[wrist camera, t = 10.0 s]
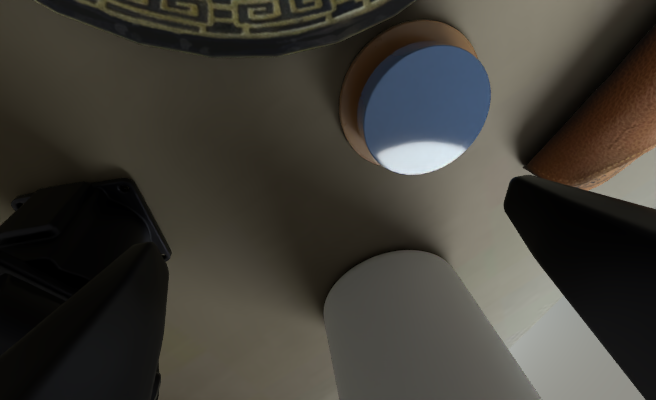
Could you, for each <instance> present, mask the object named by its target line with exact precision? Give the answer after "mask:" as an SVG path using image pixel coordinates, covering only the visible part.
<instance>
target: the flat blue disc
mask: <svg viewBox="0 0 656 400" xmlns="http://www.w3.org/2000/svg"><path fill="white" fill-rule="evenodd" d="M490 100H491V90H490V82H489V79H488V75H487V73H486V71H485V69H484V67H483V65H482V64H481V62H480V61H479V60H478V59H477V58H476V57H475V56H474V55H473V54H471V53H470V52H468V51H467V50H464V49H462V48H460V47H457V46H454V45H451V44H448V43H445V42H441V41H432V40H430V41H420V42H416V43H412V44H409V45H407V46H404V47H402V48H400V49H398V50H397V51H395V52H394V53H392V54H391V55H389V56H388V57H387V58H386V59H385V60H383V61H382V62H381V63H380V64H379V65H378V67H377V68H376V69H375V70H374V71H373V73H372V74H371V76H370V77H369V79H368V80H367V82H366V84H365V86H364V88H363V91H362V93H361V96H360V100H359V103H358V110H357V123H358V129H359V133H360V136H361V138H362V141H363V142H364V144H365V146H366V147H367V149H368V150H369V152H370V153H371V155H372V156H373V158H374V159H375V160H376V161H377V162H378V163H379V164H380V165H381V166H383V167H384V168H386V169H388V170H390V171H392V172H395V173H398V174H403V175H420V174H426V173H430V172H433V171H436V170H438V169H440V168H442V167H444V166H446V165H448V164H449V163H451V162H453V161H454V160H455V159H457V158H458V157H459V156H460V155H461V154H463V153H464V152H465V151H466V150H467V149H468V148H469V146H470V145H471V144H472V143H473V142H474V140H475V139H476V137H477V136H478V134H479V133H480V131H481V129H482V127H483V125H484V123H485V120H486V118H487V115H488V111H489V107H490Z"/></svg>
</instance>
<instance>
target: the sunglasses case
mask: <svg viewBox="0 0 656 400" xmlns="http://www.w3.org/2000/svg"><path fill="white" fill-rule="evenodd" d="M654 147H656V24H655V25H654V26H653V27H652V29H651V30H650V31H649V32H648V33H647V34H646V35H645V36H644V37H643V38H642V39H641V40H640V41H639V42H638V44H637V45H636V46H635V47H634V48H633V49H632V50H631V51H630V52H629V54H628V55H627V56H626V57H625V58H624V60H623V61H622V62H621V63H620V64H619V65H618V67H617V68H616V69H615V70H614V71H613V73H612V74H611V75H610V76H609V77H608V78H607V79H606V80H605V81H604V82H603V83H602V84H601V85H600V86H599V87H598V88H597V89H596V90H595V91H594V92H593V93H592V94H591V96H590V97H589V98H588V99H587V100H586V101H585V102H584V103H583V104H582V106H581V107H580V108H579V109H578V110H577V111H576V112H575V113H574V115H573V116H572V117H571V118H570V119H569V120H568V121H567V122H566V123H565V125H564V126H563V127H562V128H561V129H560V130H559V131H558V132H557V133H556V134H555V135H554V136H553V137H552V138H551V139H550V141H549V142H548V143H547V144H546V145H545V146H544V147H543V149H542V150H541V151H540V152H538V153H537V154H536V155H535V156H534V157H533V158H532V160H531V161H530V162H529V164H528V165H526V166H524V167H523V168H524V169H526V170H528V171H529V172H531V173H532V174H534V175H535V176H537V177H539V178H543V179H547V180H550V181H554V182H558V183H561V184H565V185H569V186H572V187H576V188H579V189H583V190H587V191H588V190H590V189H592V188H595V187H597V186H599V185H601V184H603V183H604V182H606V181H608V180H609V179H610V178H612V177H613V176H615V175H616V174H617V173H619V172H620V171H622V170H623V169H624V168H625V167H627V166H628V165H630V164H631V163H632V162H633V161H634V160H636V159H637V158H638V157H640V156H641V155H643V154H644V153H646V152H648V151H650V150H652V149H653V148H654Z"/></svg>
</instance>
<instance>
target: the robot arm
mask: <svg viewBox="0 0 656 400" xmlns="http://www.w3.org/2000/svg"><path fill="white" fill-rule="evenodd" d="M122 185H125V186H127V187H128V188H129V189H125V188H123V187H122ZM22 203H24V204H22ZM11 206H12V207H13V209H14V210H15V212H14V213H13V214H12V215H11V216H10V217H9V218H8V219H7V220H6V221H5V222H4V223H3V224H2V225H1V226H0V400H158V396H159V387H160V383H161V375H160V373H159V356H160V351H161V346H162V340H163V335H164V326H165V315H166V303H167V292H168V280H169V271H168V267H167V264H166V261H168V260H169V259H170V256H171V250H170V248H169V246H168V244H167V242H166V241H165V239H164V237H163V235H162V233H161V231H160V229H159V227H158V225H157V224H156V222H155V220H154V218H153V216H152V214H151V212H150V210H149V209H148V207H147V205H146V203H145V201H144V199H143V197H142V195H141V193H140V192H139V190H138V188H137V186H136V184H135V183H134V182H133V181H132V180H131V179H128V178H120V179H115V180H109V181H103V182H97V183H89V182H78V183H72V184H66V185H60V186H54V187H48V188H42V189H39V190H37V191H36V192H35V193H31V194H25V195H20V196H17V197H16V198H15V199H14V200H13V201H12V202H11ZM504 210H505V212H506V214H507V215H508V217H509V219H510V220H511V222H512V223H513V225H514V227H515V228H516V230H517V231H518V233H519V234H520V236H521V238H522V239H523V241H524V242H525V244H526V245H527V247H528V249H529V250H530V252H531V253H532V255H533V256H534V258H535V259H536V260H537V262H538V263H539V264H540V266H541V267H542V268H543V270H544V271H545V272H546V273H547V275H548V276H549V277H550V278H551V280H552V281H553V282H554V284H555V285H556V286H557V287H558V289H559V290H560V291H561V293H562V294H563V295H564V296H565V298H566V299H567V300H568V301H569V303H570V304H571V305H572V307H573V308H574V309H575V310H576V311H577V313H578V314H579V315H580V317H581V318H582V319H583V321H584V322H585V323H586V324H587V326H588V327H589V328H590V329H591V331H592V332H593V333H594V335H595V336H596V337H597V338H598V340H599V341H600V342H601V343H602V345H603V346H604V347H605V349H606V350H607V351H608V352H609V354H610V355H611V356H612V357H613V359H614V360H615V361H616V363H617V364H618V365H619V366H620V368H621V369H622V370H623V371H624V373H625V374H626V375H627V376H628V378H629V379H630V380H631V382H632V383H633V384H634V386H635V387H636V388H637V389H638V390H639V392H640V393H641V394H642V396H643V397H644V398H645V400H656V209H652V208H649V207H645V206H642V205H638V204H634V203H631V202H627V201H623V200H620V199H616V198H612V197H609V196H605V195H601V194H598V193H594V192H590V191H587V190H583V189H579V188H576V187H572V186H569V185H565V184H561V183H558V182H554V181H550V180H547V179H543V178H539V177H536V176H532V175H524V176H518V177H514V178H513V179H512V180H511V181H510V183H509V187H508V190H507V193H506V197H505V200H504ZM161 254H165V255H161Z"/></svg>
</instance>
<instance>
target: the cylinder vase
mask: <svg viewBox="0 0 656 400" xmlns="http://www.w3.org/2000/svg"><path fill="white" fill-rule="evenodd" d="M323 316H324V323H325V328H326V333H327V338H328V343H329V349H330V354H331V359H332V364H333V369H334V374H335V380H336V385H337V390H338V395H339V400H542V399H541V397H540V396H539V394H538V393H537V391H536V390H535V388H534V387H533V385H532V384H531V382H530V381H529V380H528V378H527V376H526V375H525V374H524V372H523V371H522V369H521V368H520V366H519V365H518V363H517V362H516V360H515V359H514V357H513V356H512V354H511V353H510V351H509V350H508V348H507V347H506V345H505V344H504V343H503V341H502V340H501V338H500V337H499V335H498V334H497V332H496V331H495V329H494V328H493V326H492V325H491V323H490V322H489V320H488V319H487V317H486V316H485V314H484V313H483V311H482V310H481V309H480V307H479V306H478V304H477V303H476V301H475V300H474V298H473V297H472V295H471V294H470V292H469V291H468V289H467V288H466V286H465V285H464V283H463V282H462V280H461V279H460V277H459V276H458V275H457V273H456V272H455V270H454V269H453V267H452V266H451V265H450V264H449V263H448V262H447V261H445V260H444V259H442V258H441V257H439V256H437V255H434V254H432V253H429V252H424V251H418V250H400V251H393V252H388V253H384V254H381V255H378V256H375V257H372V258H370V259H368V260H366V261H364V262H362V263H360V264H358V265H356V266H355V267H353V268H352V269H350V270H349V271H348V272H346V273H345V274H344V275H343V276H342V277H341V278H340V279H339V280H338V281H337V282H336V283H335V285H334V286H333V287H332V289H331V290H330V292H329V294H328V296H327V298H326V301H325V304H324V311H323Z"/></svg>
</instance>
